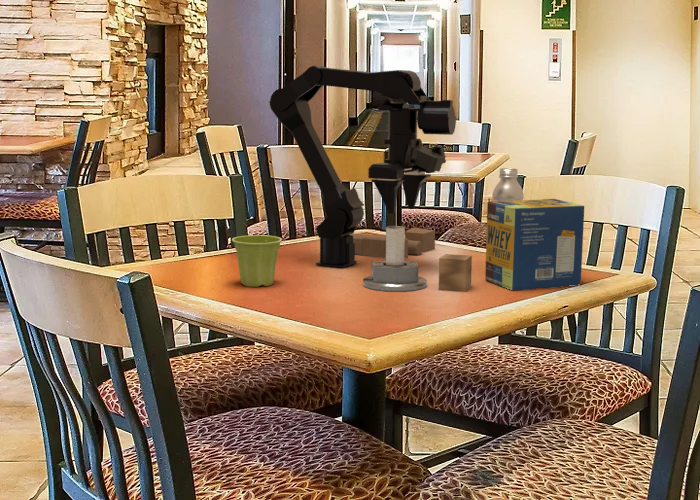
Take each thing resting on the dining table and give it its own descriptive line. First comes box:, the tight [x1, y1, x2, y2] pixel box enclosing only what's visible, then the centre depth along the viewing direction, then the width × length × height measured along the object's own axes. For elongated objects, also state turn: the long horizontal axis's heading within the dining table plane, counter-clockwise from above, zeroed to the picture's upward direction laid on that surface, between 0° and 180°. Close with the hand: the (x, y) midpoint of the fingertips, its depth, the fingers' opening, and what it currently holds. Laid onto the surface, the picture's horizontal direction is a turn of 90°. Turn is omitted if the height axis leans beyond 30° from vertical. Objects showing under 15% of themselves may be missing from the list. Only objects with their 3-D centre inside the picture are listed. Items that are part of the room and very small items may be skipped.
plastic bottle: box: [491, 167, 525, 202], centre depth 210 cm, size 6×7×20 cm
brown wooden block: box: [438, 253, 473, 293], centre depth 185 cm, size 5×5×6 cm
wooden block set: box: [349, 227, 436, 260], centre depth 226 cm, size 17×6×18 cm
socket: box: [362, 260, 428, 293], centre depth 187 cm, size 12×12×4 cm
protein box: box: [484, 198, 585, 291], centre depth 189 cm, size 10×15×16 cm
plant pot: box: [231, 234, 283, 288], centre depth 187 cm, size 9×9×9 cm
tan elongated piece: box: [385, 225, 406, 267], centre depth 187 cm, size 4×3×10 cm
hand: (401, 211), depth 201 cm, fingers open, 9 cm apart
